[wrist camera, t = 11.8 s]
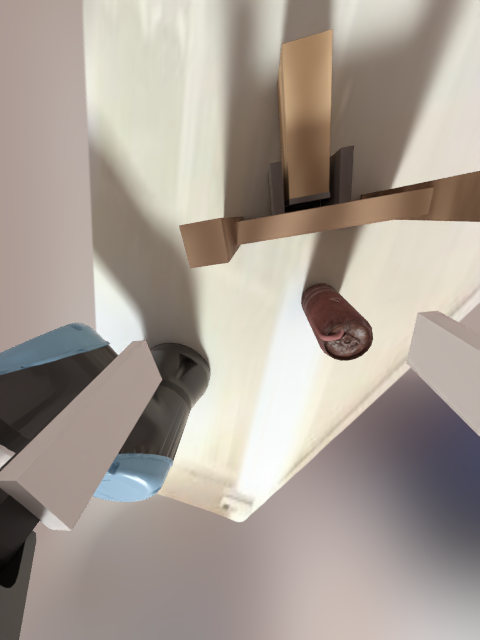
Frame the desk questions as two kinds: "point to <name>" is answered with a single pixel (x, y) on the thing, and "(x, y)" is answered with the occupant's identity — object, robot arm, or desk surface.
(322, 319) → the can
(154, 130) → the desk surface
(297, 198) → the tan rectangular block
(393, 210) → the wooden u-shaped stand
